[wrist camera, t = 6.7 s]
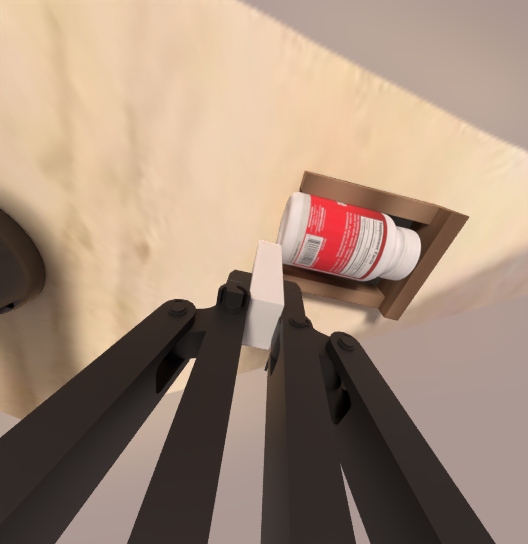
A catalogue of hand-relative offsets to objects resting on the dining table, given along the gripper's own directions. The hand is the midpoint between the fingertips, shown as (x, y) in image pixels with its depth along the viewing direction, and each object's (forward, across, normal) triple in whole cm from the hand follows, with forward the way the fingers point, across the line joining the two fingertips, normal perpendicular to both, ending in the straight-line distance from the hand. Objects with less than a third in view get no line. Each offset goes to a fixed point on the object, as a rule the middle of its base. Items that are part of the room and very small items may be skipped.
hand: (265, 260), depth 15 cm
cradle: (+8, +8, 0) cm, 11 cm away
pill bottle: (+5, +1, +1) cm, 5 cm away
